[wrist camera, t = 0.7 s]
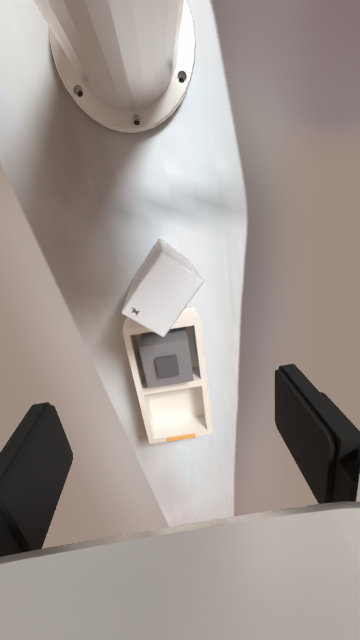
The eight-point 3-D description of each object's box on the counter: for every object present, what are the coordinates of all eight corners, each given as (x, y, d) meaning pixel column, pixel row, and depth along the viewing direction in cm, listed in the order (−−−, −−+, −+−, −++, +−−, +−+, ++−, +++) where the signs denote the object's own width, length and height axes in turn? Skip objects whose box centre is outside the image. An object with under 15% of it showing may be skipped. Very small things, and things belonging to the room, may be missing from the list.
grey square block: (141, 330, 34) (138, 350, 29) (184, 324, 34) (188, 342, 29) (149, 367, 36) (147, 391, 31) (189, 361, 36) (194, 383, 31)
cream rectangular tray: (125, 317, 34) (121, 330, 30) (195, 306, 34) (200, 318, 30) (150, 422, 41) (149, 445, 37) (208, 413, 41) (213, 434, 37)
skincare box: (161, 298, 33) (162, 340, 22) (132, 279, 32) (118, 314, 21) (189, 257, 32) (206, 281, 21) (159, 236, 31) (160, 249, 20)
